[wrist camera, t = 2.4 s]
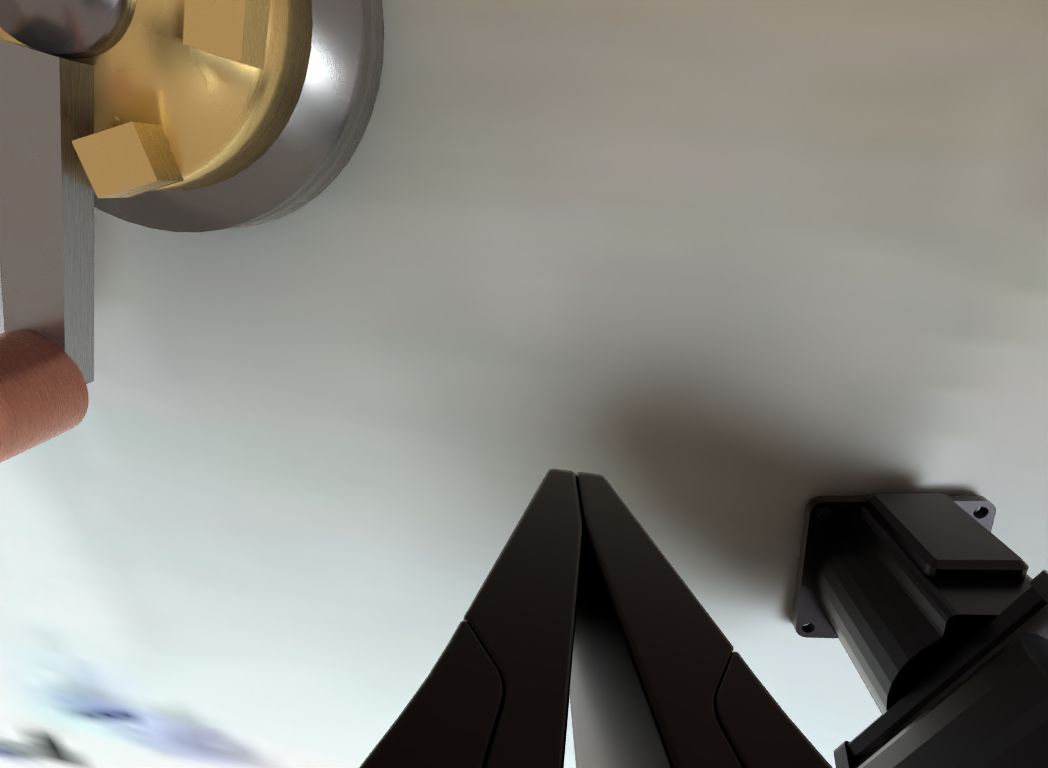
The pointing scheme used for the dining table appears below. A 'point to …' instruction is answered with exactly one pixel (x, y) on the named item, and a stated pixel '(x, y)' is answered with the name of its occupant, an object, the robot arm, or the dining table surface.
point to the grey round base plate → (288, 134)
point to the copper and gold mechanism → (115, 156)
